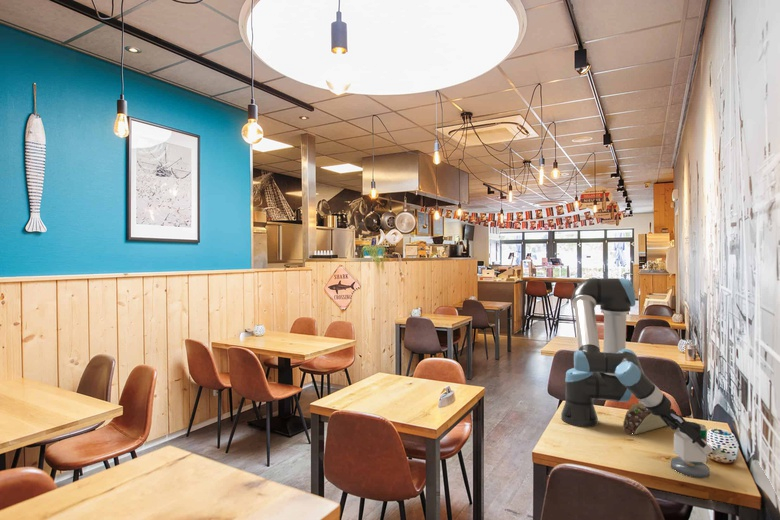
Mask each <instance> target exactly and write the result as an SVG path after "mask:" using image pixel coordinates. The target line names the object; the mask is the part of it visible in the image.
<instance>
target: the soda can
mask: <svg viewBox="0 0 780 520" xmlns="http://www.w3.org/2000/svg"><path fill="white" fill-rule="evenodd" d="M696 423H697V422H696ZM697 424H699V425H700V426H701V435H702V437H703V438H702V439H703V440H705V441H706V442H707V443H708V429H707V428H706V425H704V424H702V423H697Z"/></svg>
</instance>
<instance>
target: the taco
mask: <svg viewBox="0 0 780 520" xmlns="http://www.w3.org/2000/svg"><path fill="white" fill-rule="evenodd" d="M622 425H623V428H622V429H623V432H624V433H625V434H626V433H627V434H626V435H628V434H629V436H634V435H637V434H641V433H645V432H649V431H652V430H656V429H660V428H664V427H668V426H667V424H666V423H665V422H664V421H663V420H662V419H661V418H660V417H659V416H656V415H653V414H652V413H651V412H650V411H649V410H648V409H647V408H646V407H645V406H644V405H643V404H642V403H634V404H632V405H631V407H630V408H629V409H627V411H626V413H625V416H624V420H623V423H622ZM632 433H633V434H632Z"/></svg>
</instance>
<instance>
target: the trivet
mask: <svg viewBox="0 0 780 520" xmlns="http://www.w3.org/2000/svg"><path fill="white" fill-rule="evenodd" d="M670 468H671V469H672V470H673V469H674V470H676V471H677V472H676V471H675V472H676V473H678V472H679V474H680V473H682V474H681V475H683V474H684V475H683V476H686V475H687V476H686V477H689V476H691V478H696V479H705V478H708V477H710V473H711V472H710V467H709V465H708V464H706V463H703V462H689V461H684V460H682V459H681V458H680V457H679V456H675V457H673V458H671V459H670Z"/></svg>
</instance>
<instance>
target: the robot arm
mask: <svg viewBox="0 0 780 520" xmlns="http://www.w3.org/2000/svg"><path fill="white" fill-rule="evenodd" d="M635 294H636V292H635V288H634V285H633V282H632V281H631V280H630V279H626V278H618V277H617V278H613V277H612V278H609V277H608V278H606V277H605V278H603V277H602V278H599V277H598V278H596V277H592V278H587V279H585V280H583V281H581V282H580V283H579V284H578V285H577V286H576V287H575V288H574V290H573V292H572V295H571V306H572V308H573V309H574V313H575V325H576V337H577V345H578V347H577V348H578V350H575V351H573V367H572V368H570V369H567V371H566V372H565V379H564V381H565V402H564V406H563V408H562V410H561V420H562V421H563V422H565V423H566V424H570V425H573V426H577V427H584V428H585V427H586V428H587V427H594V426H597V425H598V424H599V418H598V415H597V412H596V407H595V406H594V400H599V401H609V402H610V401H611V402H617V403H618V402H623V403H624V402H625V403H627V402H628V401H630V399H631V397H632V395H633V396H634V397H635V399H637V402H638V404H643V405H644V406H645V407H646V408H647V409H648V410H649V411H650V412H651V413H652V414H653V415H656V416H659V417H660V418H661V419H662V420H663V421H664V422H665V423H666V424H667V426H666V427H669V428H671V429H672V430H674V433H680V432H679V428H680V429H681V430H682V431H683V432H684V433H685V434H686V435H687V436H689V437H690V438H691V439H692V443H695V444H696V445H697V446H698V447H699V448H700V449H701V450H702V451H703V452H704V453H705V454H706V455H707V456H708V455H709V454H710V453H711V452H712V451H713V448H712V447H711V446H710V445H709V444H708V442H707V443H706V442H705V441H704V440H703V439H702V438H703V437H702V435H700V434H699V433H698V432H697V431H696V430H695V429H694V428H693V427H692V426H691V425H690V424H689V423H688V422H687V421H688V420H686V419H685V418H684V417H683V416H682V415H679V414H678V413H677V412H676V411H675V410H674V409H672V401H671V400H670V399H669V398H668V397H667V396H666V395H665V394H664V393H663V391H662V390H660V388H659V387H658V386H657V385H656V384H655V383H654V382H653V381H652V380H650V378H649V377H648V376H647V375H646V374H645V372H644V369H643V368H642V367H643V366H642V364H641V361H640V359H639V358H638V355H637V354H636V352H634V351H633V350H631V349H629V348H626V343H627V341H626V339H627V334H626V333H627V314H629V313H630V312H631V307H634V306H636V295H635ZM596 306H600V310H601V312H603V351H601V347H600V346H601V345H600V341H599V332H598V326H597V319H596V309H595V308H596Z"/></svg>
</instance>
